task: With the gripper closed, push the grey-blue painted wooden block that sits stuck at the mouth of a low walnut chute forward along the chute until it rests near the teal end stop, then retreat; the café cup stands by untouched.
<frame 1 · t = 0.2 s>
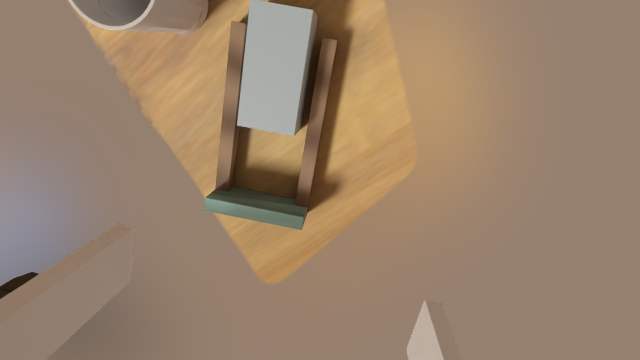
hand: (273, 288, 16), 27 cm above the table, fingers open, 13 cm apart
chute: (274, 124, 42), on the table
block: (282, 71, 40), on the table
cup: (180, 3, 39), on the table
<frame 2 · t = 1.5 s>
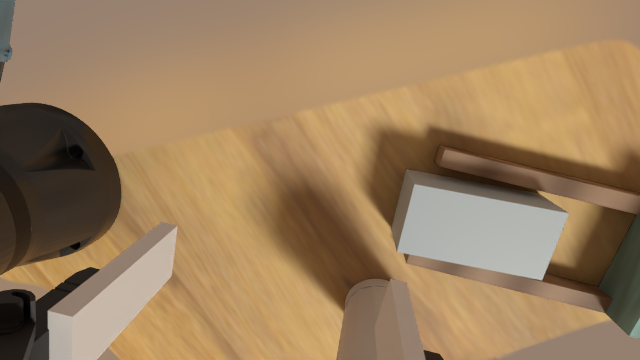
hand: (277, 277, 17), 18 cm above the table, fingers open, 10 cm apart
chute: (526, 227, 33), on the table
block: (462, 210, 34), on the table
cup: (375, 304, 37), on the table
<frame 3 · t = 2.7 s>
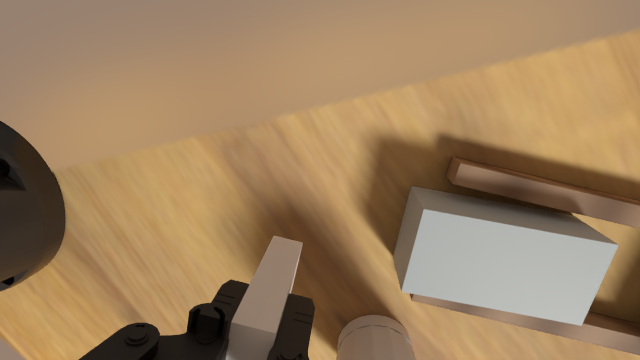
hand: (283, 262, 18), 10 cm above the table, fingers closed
chute: (556, 255, 28), on the table
block: (478, 235, 28), on the table
cup: (374, 344, 31), on the table
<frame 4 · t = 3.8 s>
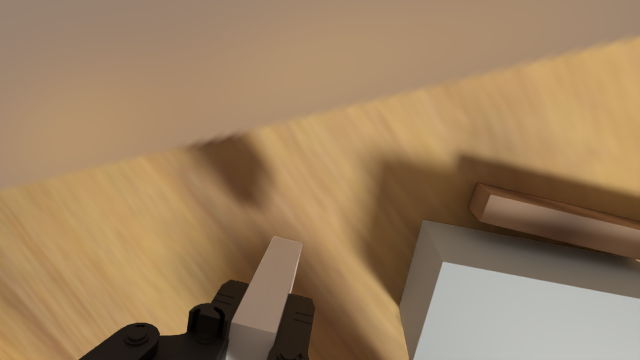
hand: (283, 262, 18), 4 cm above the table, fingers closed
chute: (611, 309, 21), on the table
block: (509, 282, 22), on the table
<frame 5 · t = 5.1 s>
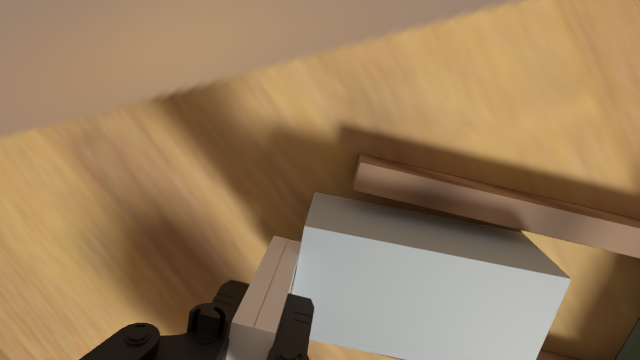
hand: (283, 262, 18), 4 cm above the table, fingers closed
chute: (500, 280, 22), on the table
block: (404, 256, 22), on the table, touching gripper
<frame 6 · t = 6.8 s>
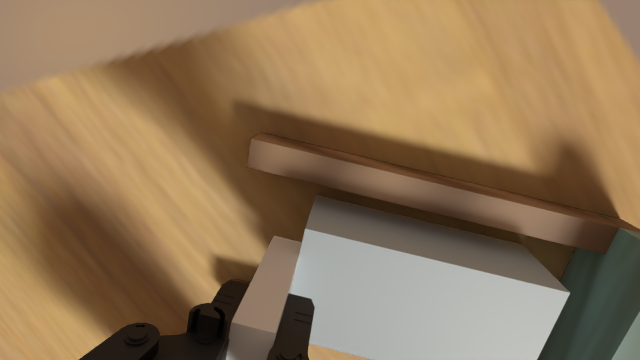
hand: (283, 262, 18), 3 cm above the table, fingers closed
chute: (409, 262, 21), on the table
block: (402, 262, 22), on the table
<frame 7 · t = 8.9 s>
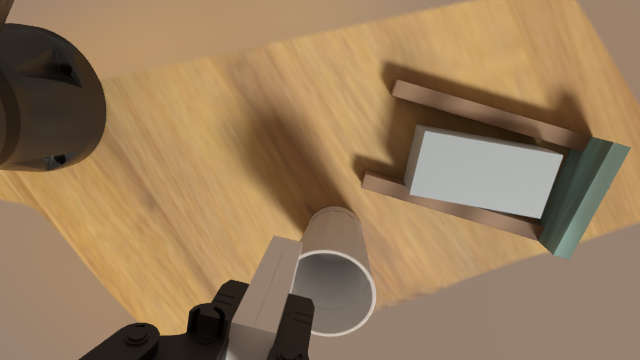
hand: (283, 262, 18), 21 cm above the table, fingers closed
chute: (471, 161, 37), on the table
block: (467, 162, 37), on the table
cup: (335, 232, 41), on the table
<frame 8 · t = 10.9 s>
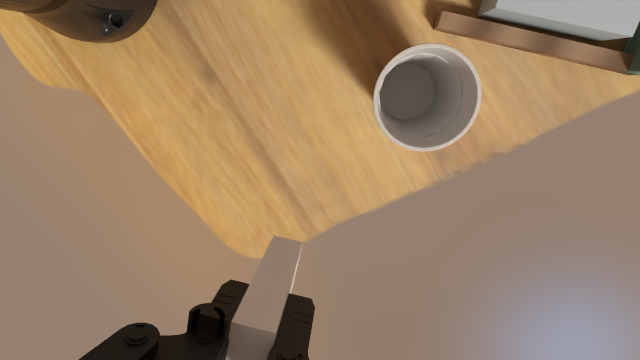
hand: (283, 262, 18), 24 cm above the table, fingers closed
cup: (404, 91, 39), on the table
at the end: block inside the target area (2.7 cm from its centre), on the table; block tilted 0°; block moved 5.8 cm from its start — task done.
